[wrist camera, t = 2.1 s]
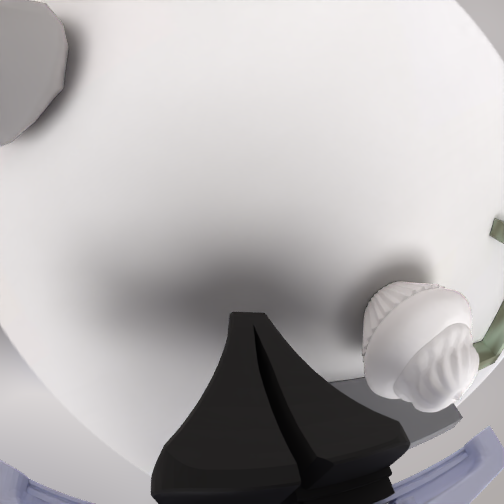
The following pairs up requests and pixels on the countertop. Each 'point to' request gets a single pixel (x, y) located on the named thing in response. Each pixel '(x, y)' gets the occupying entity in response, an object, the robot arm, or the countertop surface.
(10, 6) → the salt shaker
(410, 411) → the screen
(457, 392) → the muffin
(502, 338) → the bay
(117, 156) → the countertop surface
